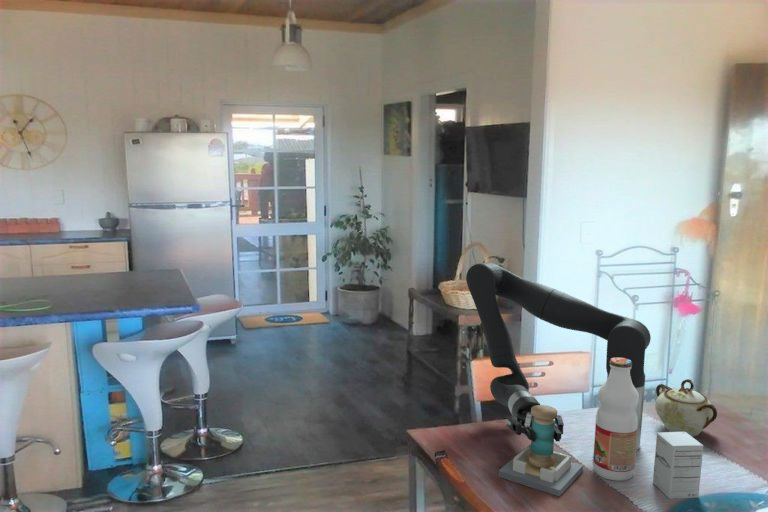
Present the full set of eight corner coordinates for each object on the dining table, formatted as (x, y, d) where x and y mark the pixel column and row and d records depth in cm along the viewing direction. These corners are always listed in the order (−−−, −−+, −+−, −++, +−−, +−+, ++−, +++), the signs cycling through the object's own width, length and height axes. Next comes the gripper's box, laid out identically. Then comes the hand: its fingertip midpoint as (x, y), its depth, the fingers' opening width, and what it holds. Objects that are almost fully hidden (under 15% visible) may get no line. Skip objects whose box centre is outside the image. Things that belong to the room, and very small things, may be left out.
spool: (534, 453, 158) (537, 403, 156) (558, 460, 155) (561, 409, 153) (524, 462, 153) (527, 410, 151) (548, 470, 150) (551, 417, 148)
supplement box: (651, 482, 151) (655, 431, 149) (681, 482, 152) (686, 430, 150) (667, 499, 144) (672, 445, 142) (699, 498, 144) (704, 444, 142)
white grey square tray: (524, 454, 165) (525, 439, 164) (582, 471, 156) (583, 455, 156) (498, 476, 153) (498, 460, 152) (559, 496, 144) (560, 479, 144)
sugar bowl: (732, 440, 175) (738, 386, 173) (693, 449, 169) (698, 394, 167) (672, 413, 193) (676, 365, 191) (635, 421, 186) (639, 371, 184)
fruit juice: (627, 486, 149) (636, 369, 145) (587, 474, 155) (594, 361, 151) (638, 470, 157) (647, 359, 153) (599, 459, 162) (606, 351, 158)
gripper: (499, 396, 166) (516, 423, 149) (553, 395, 167) (577, 422, 150) (497, 423, 167) (515, 453, 150) (552, 423, 168) (575, 452, 151)
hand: (546, 437), depth 150 cm, fingers closed on spool, 5 cm apart
